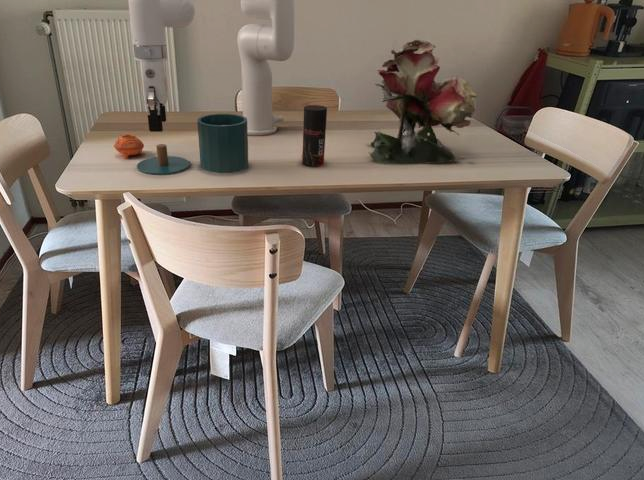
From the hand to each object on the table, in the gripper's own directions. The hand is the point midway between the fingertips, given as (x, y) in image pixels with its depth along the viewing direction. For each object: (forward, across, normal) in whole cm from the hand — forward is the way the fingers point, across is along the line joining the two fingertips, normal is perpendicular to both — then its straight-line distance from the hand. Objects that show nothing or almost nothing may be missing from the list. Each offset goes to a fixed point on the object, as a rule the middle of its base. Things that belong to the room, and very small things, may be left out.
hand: (158, 126), depth 126 cm
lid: (+10, 0, 0) cm, 11 cm away
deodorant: (+11, +1, -40) cm, 42 cm away
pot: (+11, +10, +10) cm, 18 cm away
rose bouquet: (+10, +11, -72) cm, 74 cm away
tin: (+11, 0, -16) cm, 20 cm away
